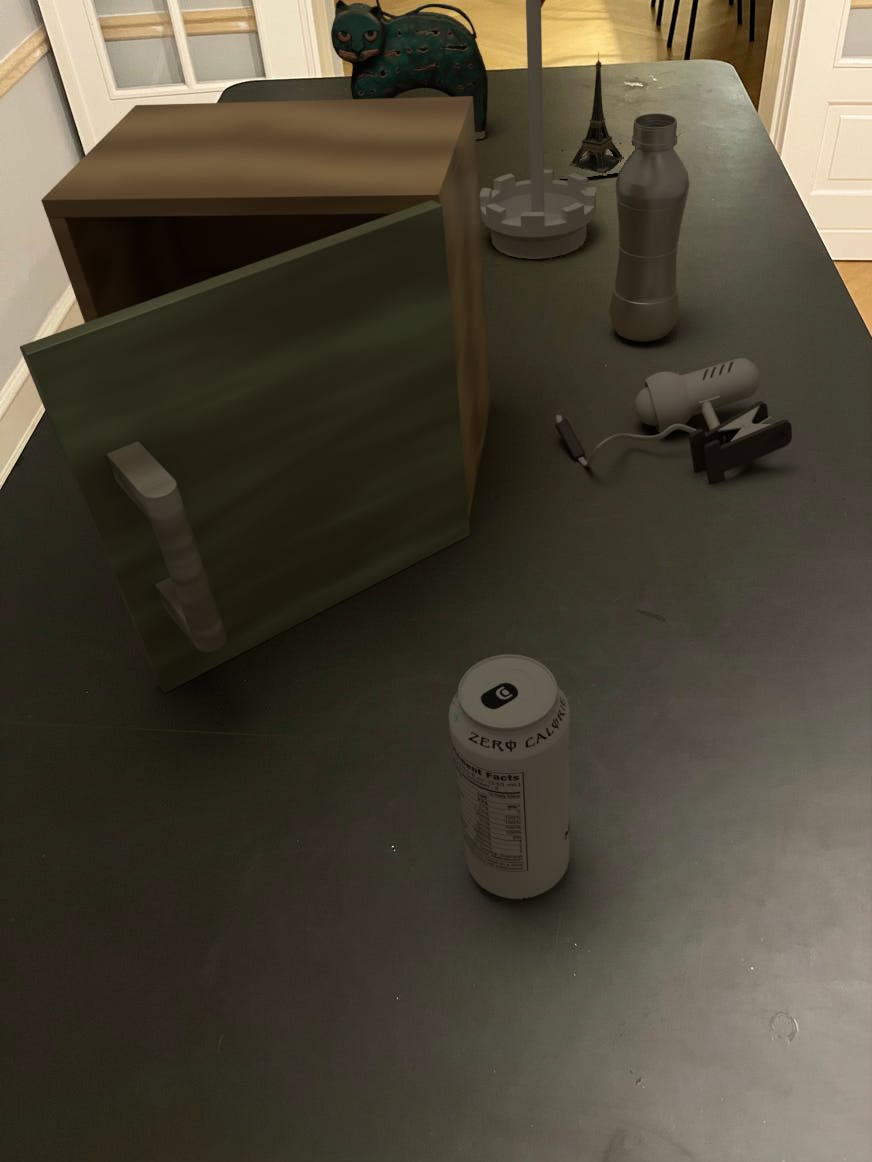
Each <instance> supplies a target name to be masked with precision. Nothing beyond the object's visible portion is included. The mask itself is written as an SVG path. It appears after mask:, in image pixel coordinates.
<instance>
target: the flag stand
mask: <svg viewBox="0 0 872 1162" xmlns="http://www.w3.org/2000/svg"><path fill="white" fill-rule="evenodd" d="M545 2H546V0H525V21H526V24H525V25H526V58H527V59H526V62H527V65H526V66H527V98H528V101H527V102H528V137H529V139H528V141H529V175H530V176H529V177H530V179H526V180H520V181H516V176H515V175H514V174H513V173H511V172H510V173H507V174H504V175H501V176H498V177H496V178H494V179H493V188H491V187H490V188H489V187H482V188H481V190H480V192H479V209H480V220H481V222H482V224H484V225H485V226H486V227H487V228H488V229H490V239H491V238H492V240H493V242H494V243H495V244H496V245H497V246H499V248H501V249H503V250H504V251H507V252H510V253H513V254H517V255H522V256H530V257H550V256H556V255H561V254H564V253H567V252H571V251H572V250H574V249H576V248H577V247H579V246H580V245H581V244H582V242H584V240H585V238H586V239H587V226H588V224H589V223H590V222H591V221H592V220H593V219H594V218H595V216H596V213H597V188H596V186H589V178H586V177H584V176H582V175H579V174H576V173H572V174H570V175H568V180H554V170H552V169H544V153H545V152H544V104H543V103H544V100H543V99H544V97H543V96H544V95H543V93H544V92H543V45H542V44H543V43H542V42H543V37H542V33H543V32H542V31H543V30H542V7H543V6H544V4H545ZM492 189H493V190H492ZM585 241H586V240H585Z"/></svg>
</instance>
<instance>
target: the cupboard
mask: <svg viewBox="0 0 872 1162" xmlns="http://www.w3.org/2000/svg"><path fill="white" fill-rule="evenodd" d="M476 144H477V143H476V140H475V125H474V107H473V97H472V96H468V97H450V96H435V97H434V96H431V97H400V98H399V97H398V98H397V97H394V98H390V99H353V98H352V99H321V100H320V99H318V100H317V99H316V100H315V99H314V100H280V101H279V100H278V101H277V100H276V101H275V100H274V101H242V102H241V101H237V102H205V103H204V102H202V103H201V102H200V103H165V104H164V103H161V104H160V103H159V104H158V103H157V104H135V105H134V106H133V107H132V108H131V109H130V110H128V112H127V113H126V114H125V115H124V116H123V117H122V118H121V119H120V120H119V121H118V122H117V123H116V124H115V125H114V126H113V127H112V128H111V129H109V131H108V132H107V133H106V134H105V136H103V137H102V139H100V140H99V141H98V142H97V143H96V144H95V145H94V146H93V148H91V149H90V150H89V152H87V153H86V154H85V155H84V156H83V157H82V158H81V159H80V160H79V161H78V162H77V163H76V164H75V165H74V166H73V167H72V168H71V169H70V170H69V171H68V172H67V173H66V174H65V175H64V176H63V177H62V178H61V179H60V180H59V181H58V182H57V183H56V184H55V185H54V186H53V187H52V188H51V189H50V191H48V193H46V194H45V195H44V196H43V198H41V200H40V202H41V204H42V207H43V209H44V212H45V215H46V218H47V221H48V223H49V226H50V229H51V231H52V232H51V233H52V235H53V237H54V240H55V243H56V246H57V248H58V252H59V255H60V257H61V260H62V263H63V265H64V268H65V272H66V274H67V277H68V279H69V283H70V285H71V289H72V291H73V294H74V295H75V296H74V297H75V299H76V302H77V305H78V308H79V310H80V313H81V316H82V319H83V322H84V323H87V322H89V321H92V320H95V319H98V318H101V317H103V316H106V315H109V314H112V313H115V312H118V311H120V310H123V309H126V308H129V307H132V306H134V305H137V304H140V303H143V302H146V301H149V300H151V299H154V298H157V297H160V296H163V295H165V294H168V293H171V292H174V291H177V290H180V289H182V288H185V287H188V286H191V285H194V284H196V283H199V282H202V281H205V280H208V279H211V278H213V277H216V276H219V275H222V274H225V273H227V272H230V271H233V270H236V269H239V268H242V267H244V266H247V265H250V264H253V263H256V262H258V261H261V260H264V259H267V258H270V257H273V256H275V255H278V254H281V253H284V252H287V251H289V250H292V249H295V248H298V247H301V246H303V245H306V244H309V243H312V242H315V241H318V240H320V239H323V238H326V237H329V236H332V235H334V234H337V233H340V232H343V231H346V230H349V229H351V228H354V227H357V226H360V225H363V224H365V223H368V222H371V221H374V220H377V219H380V218H382V217H385V216H388V215H391V214H394V213H396V212H399V211H402V210H405V209H408V208H411V207H413V206H416V205H419V204H422V203H425V202H427V201H430V200H432V201H434V202H436V203H438V204H440V205H442V209H443V221H444V232H445V244H446V256H447V268H448V280H449V292H450V303H451V315H452V327H453V339H454V351H455V362H456V374H457V386H458V398H459V410H460V421H461V433H462V445H463V457H464V469H465V480H466V492H467V504H468V516H469V517H470V514H471V509H472V503H473V499H474V494H475V490H476V489H475V488H476V483H477V478H478V473H479V468H480V462H481V457H482V453H483V448H484V443H485V438H486V431H487V426H488V423H489V422H488V421H489V416H490V413H491V406H492V396H491V381H490V379H491V378H490V364H489V363H490V361H489V345H488V328H487V313H486V312H487V311H486V294H485V277H484V262H483V261H484V260H483V247H482V246H483V245H482V228H481V210H480V192H479V179H478V176H479V175H478V161H477V145H476Z"/></svg>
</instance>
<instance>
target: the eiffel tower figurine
mask: <svg viewBox="0 0 872 1162" xmlns="http://www.w3.org/2000/svg"><path fill="white" fill-rule="evenodd" d="M597 53H598V58H597V59H598V60H597V62H595V66H594V67H595V81H594V93H593V103H592V111H591V112H592V113H591V116H590V120H589V126H588V129H587V132H586V136H585V137H584V138H583V139H582V140H581V146H580V147H581V148H580V147H579V148H580V149H579V151H578V152H577V154H576V156H575V157H574V159H573V161H572V162H571V163H570V164H569V165H570V166H574V167H577V168H578V167H579V168H581V169H585V170H590V171H594V172H598V173H602V174H603V173H606V172H607V171H610V170H611V169H613V168H614V167H615V166H616V165H617V164H618V163H619V161H620V162H621V160H622V159H624V157H622V155H621V154H620V152H619V151H618V149H617V148H616V147H615V145H614V144H615V143H614V142H613V136H611V135H610V134H609V132H608V128H607V125H606V118H605V117H604V116H605V115H604V108H603V107H604V106H603V95H602V94H603V93H602V67H603V65H602V62H601V61H600V51H598V52H597ZM631 142H632V140H631ZM607 149H609V150H610V151H611V152H612V154H613V156H611V155H606V154H605V153H606V150H607ZM587 151H588V152H587ZM585 152H587V154H586V156H587V158H585V155H584V156H582V155H583V154H584V153H585ZM582 158H585V159H582ZM580 159H582V160H580Z"/></svg>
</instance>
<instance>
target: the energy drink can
mask: <svg viewBox="0 0 872 1162" xmlns="http://www.w3.org/2000/svg"><path fill="white" fill-rule="evenodd" d="M457 690H458V691H457V692H456V694H455V695H454V696H453V698H452V701H451V702H450V705H449V708H448V724H449V732H450V733H449V734H450V740H451V741H450V742H451V747H452V748H451V749H452V755H453V756H452V758H453V764H454V766H453V767H454V772H455V773H454V774H455V780H456V788H457V789H456V790H457V797H458V804H459V805H458V806H459V813H460V821H461V828H462V829H461V830H462V836H463V837H462V839H463V845H464V846H463V847H464V852H465V859H466V860H465V861H466V866H467V869H468V871H469V873H470V875H471V877H472V878H473V879H474V881H475V882H476V883H477V884H478V885H479V886H480V887H481V888H483V889H485V890H486V891H487V892H488V893H490V894H493V895H495V896H498V897H500V898H501V897H502V898H505V899H510V900H523V898H525V899H530V898H533V897H536V896H539V895H542V894H543V893H546V892H547V891H549V890H551V889H552V888H553V887H554V886H555V885H557V884H558V883H559V882H560V880H561V879H562V878H563V876H564V875H565V873H566V871H567V869H568V866H569V862H570V857H571V856H570V854H571V853H570V852H571V851H570V849H571V847H570V845H571V844H570V843H571V842H570V839H571V838H570V836H571V835H570V833H571V829H570V828H571V827H570V825H571V823H570V819H571V815H570V814H571V813H570V812H571V811H570V809H571V804H570V802H571V795H570V792H571V791H570V789H571V786H570V785H571V784H570V783H571V779H570V778H571V769H570V768H571V764H570V763H571V761H570V760H571V753H570V752H571V750H570V749H571V745H570V744H571V730H570V728H571V720H570V719H571V709H570V704H569V701H568V699H567V696H565V693H564V692H563V690H562V689H561V687H559V686H558V685H557V680H556V678H555V677H554V675H553V673H552V672H551V671H550V669H549V668H548V667H547V666H546V665H544V664H543V663H541V662H540V661H538V660H536V659H534V658H532V657H528V656H525V655H520V654H499V655H494V656H490V657H487V658H484V659H483V660H480V661H478V662H477V663H475V664H474V665H472V666H471V667H470V668H469V669H468V670H467V671H466V672H465V673H464V674H463V676H462V678H461V679H460V681H459V684H458V688H457ZM529 897H530V898H529Z"/></svg>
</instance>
